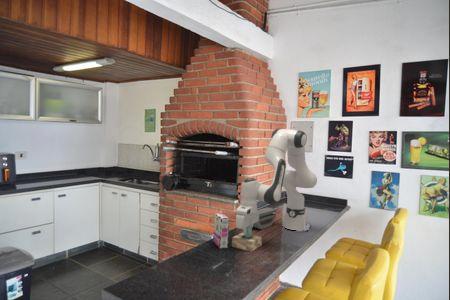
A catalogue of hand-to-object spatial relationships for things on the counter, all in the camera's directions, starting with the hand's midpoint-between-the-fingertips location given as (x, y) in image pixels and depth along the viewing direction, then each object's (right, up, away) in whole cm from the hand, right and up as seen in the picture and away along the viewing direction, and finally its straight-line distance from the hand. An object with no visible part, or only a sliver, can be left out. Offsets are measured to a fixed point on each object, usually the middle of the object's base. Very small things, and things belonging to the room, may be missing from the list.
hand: (247, 233), depth 163 cm
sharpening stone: (+12, -7, +38) cm, 40 cm away
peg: (0, -6, 0) cm, 6 cm away
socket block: (0, -7, 0) cm, 7 cm away
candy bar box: (-15, -7, 0) cm, 16 cm away
